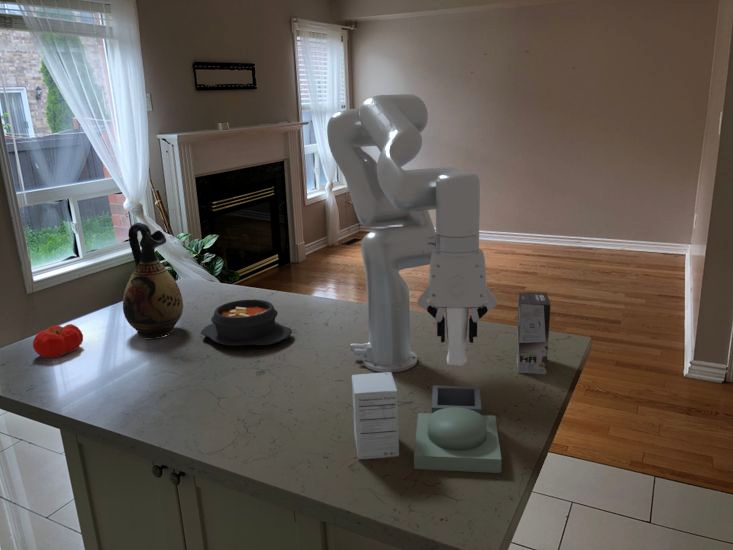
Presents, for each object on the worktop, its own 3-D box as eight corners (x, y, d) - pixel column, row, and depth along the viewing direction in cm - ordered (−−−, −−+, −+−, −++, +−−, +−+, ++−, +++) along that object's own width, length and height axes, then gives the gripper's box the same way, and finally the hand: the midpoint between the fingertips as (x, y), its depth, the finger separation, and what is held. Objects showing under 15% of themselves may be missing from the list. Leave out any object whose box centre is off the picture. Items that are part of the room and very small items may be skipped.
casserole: (306, 332, 160) (304, 302, 158) (266, 358, 144) (263, 325, 142) (230, 320, 170) (227, 292, 168) (185, 344, 154) (181, 313, 152)
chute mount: (414, 468, 98) (413, 441, 97) (420, 403, 120) (420, 380, 118) (501, 473, 96) (501, 445, 95) (491, 405, 118) (492, 382, 117)
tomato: (28, 359, 148) (23, 335, 146) (61, 343, 158) (56, 319, 156) (60, 363, 146) (56, 338, 144) (92, 345, 156) (88, 322, 154)
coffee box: (547, 374, 130) (551, 304, 126) (517, 373, 131) (519, 303, 127) (544, 357, 139) (547, 291, 134) (515, 356, 140) (518, 290, 136)
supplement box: (353, 437, 108) (350, 373, 105) (394, 434, 109) (392, 370, 105) (356, 460, 101) (353, 393, 98) (400, 457, 102) (398, 389, 98)
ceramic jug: (198, 328, 165) (185, 221, 157) (152, 347, 153) (136, 232, 145) (157, 318, 174) (144, 216, 166) (111, 335, 162) (93, 227, 154)
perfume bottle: (470, 357, 113) (471, 281, 108) (466, 367, 109) (467, 288, 105) (446, 355, 114) (446, 279, 110) (441, 364, 110) (441, 286, 106)
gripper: (408, 248, 103) (409, 347, 108) (508, 248, 101) (505, 348, 105) (410, 239, 110) (412, 332, 115) (504, 238, 108) (502, 333, 113)
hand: (456, 339), depth 110 cm, fingers closed on perfume bottle, 4 cm apart
